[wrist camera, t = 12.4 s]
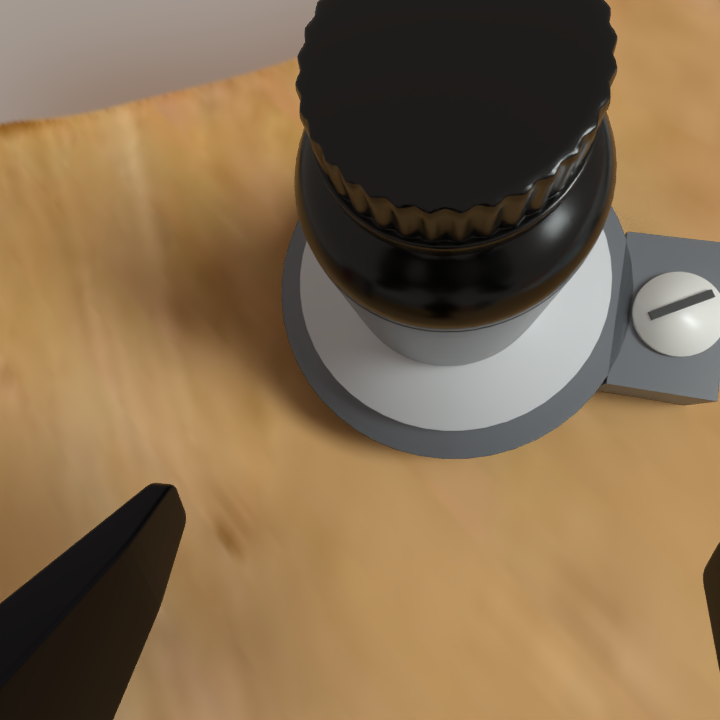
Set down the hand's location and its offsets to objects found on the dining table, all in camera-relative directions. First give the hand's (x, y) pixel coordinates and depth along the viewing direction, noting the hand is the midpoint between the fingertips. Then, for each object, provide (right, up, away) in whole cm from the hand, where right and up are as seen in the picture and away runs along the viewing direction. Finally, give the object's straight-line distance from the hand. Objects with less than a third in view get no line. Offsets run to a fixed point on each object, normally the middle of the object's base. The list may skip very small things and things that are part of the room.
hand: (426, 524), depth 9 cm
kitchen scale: (+4, +5, +14) cm, 15 cm away
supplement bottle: (+2, +6, +11) cm, 12 cm away
